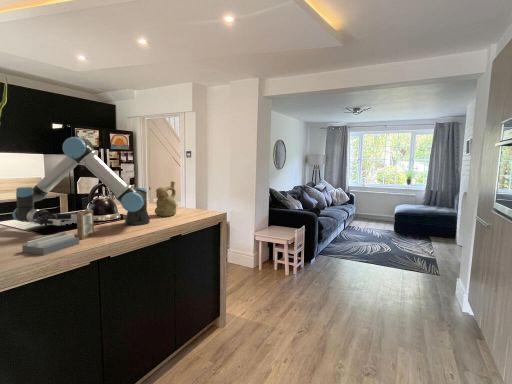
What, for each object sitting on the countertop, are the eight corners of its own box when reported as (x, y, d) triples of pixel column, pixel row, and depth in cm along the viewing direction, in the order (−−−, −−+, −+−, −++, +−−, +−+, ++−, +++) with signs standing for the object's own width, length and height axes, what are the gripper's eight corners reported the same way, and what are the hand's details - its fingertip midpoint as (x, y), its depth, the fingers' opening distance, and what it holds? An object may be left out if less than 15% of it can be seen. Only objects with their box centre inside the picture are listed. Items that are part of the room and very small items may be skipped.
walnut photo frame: (89, 235, 158) (88, 209, 156) (94, 235, 157) (93, 210, 156) (77, 239, 149) (76, 212, 147) (82, 240, 148) (81, 213, 147)
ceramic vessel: (148, 216, 212) (148, 182, 210) (166, 211, 230) (166, 180, 227) (167, 218, 206) (166, 183, 203) (184, 214, 224) (184, 181, 221)
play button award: (92, 218, 194) (59, 224, 176) (92, 221, 194) (60, 226, 177) (79, 215, 202) (46, 220, 185) (79, 218, 202) (46, 223, 185)
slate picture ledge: (59, 241, 145) (59, 231, 144) (79, 243, 142) (78, 233, 141) (22, 252, 128) (21, 241, 127) (43, 255, 125) (43, 243, 124)
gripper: (60, 219, 172) (89, 222, 167) (15, 228, 148) (48, 232, 143) (59, 206, 171) (89, 209, 166) (15, 213, 147) (47, 217, 142)
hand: (70, 220), depth 154 cm, fingers open, 13 cm apart
